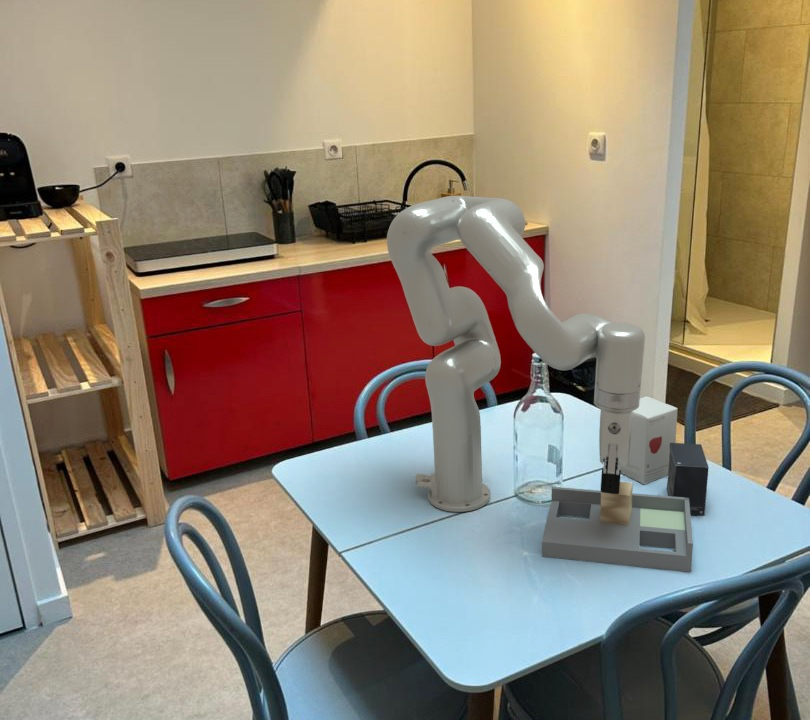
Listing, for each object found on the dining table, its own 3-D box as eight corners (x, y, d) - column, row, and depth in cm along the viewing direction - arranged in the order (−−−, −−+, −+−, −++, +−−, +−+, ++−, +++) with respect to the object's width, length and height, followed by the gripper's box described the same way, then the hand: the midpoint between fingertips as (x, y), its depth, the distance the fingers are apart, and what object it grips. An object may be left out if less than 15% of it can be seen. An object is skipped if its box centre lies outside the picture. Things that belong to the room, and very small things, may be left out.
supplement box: (644, 485, 168) (647, 418, 163) (612, 469, 175) (614, 404, 171) (675, 473, 172) (679, 407, 167) (643, 458, 180) (646, 394, 175)
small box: (706, 516, 155) (710, 466, 152) (670, 515, 157) (673, 465, 153) (699, 490, 165) (702, 442, 162) (665, 488, 166) (668, 441, 163)
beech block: (600, 521, 150) (601, 492, 148) (604, 508, 154) (605, 479, 152) (628, 525, 148) (629, 495, 146) (631, 511, 152) (632, 483, 151)
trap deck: (541, 556, 145) (541, 529, 144) (551, 512, 160) (552, 486, 158) (690, 572, 139) (692, 543, 137) (687, 524, 153) (689, 497, 151)
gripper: (639, 415, 132) (630, 515, 138) (640, 381, 145) (632, 473, 151) (591, 411, 134) (585, 509, 140) (596, 378, 147) (590, 469, 153)
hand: (609, 490), depth 146 cm, fingers closed
